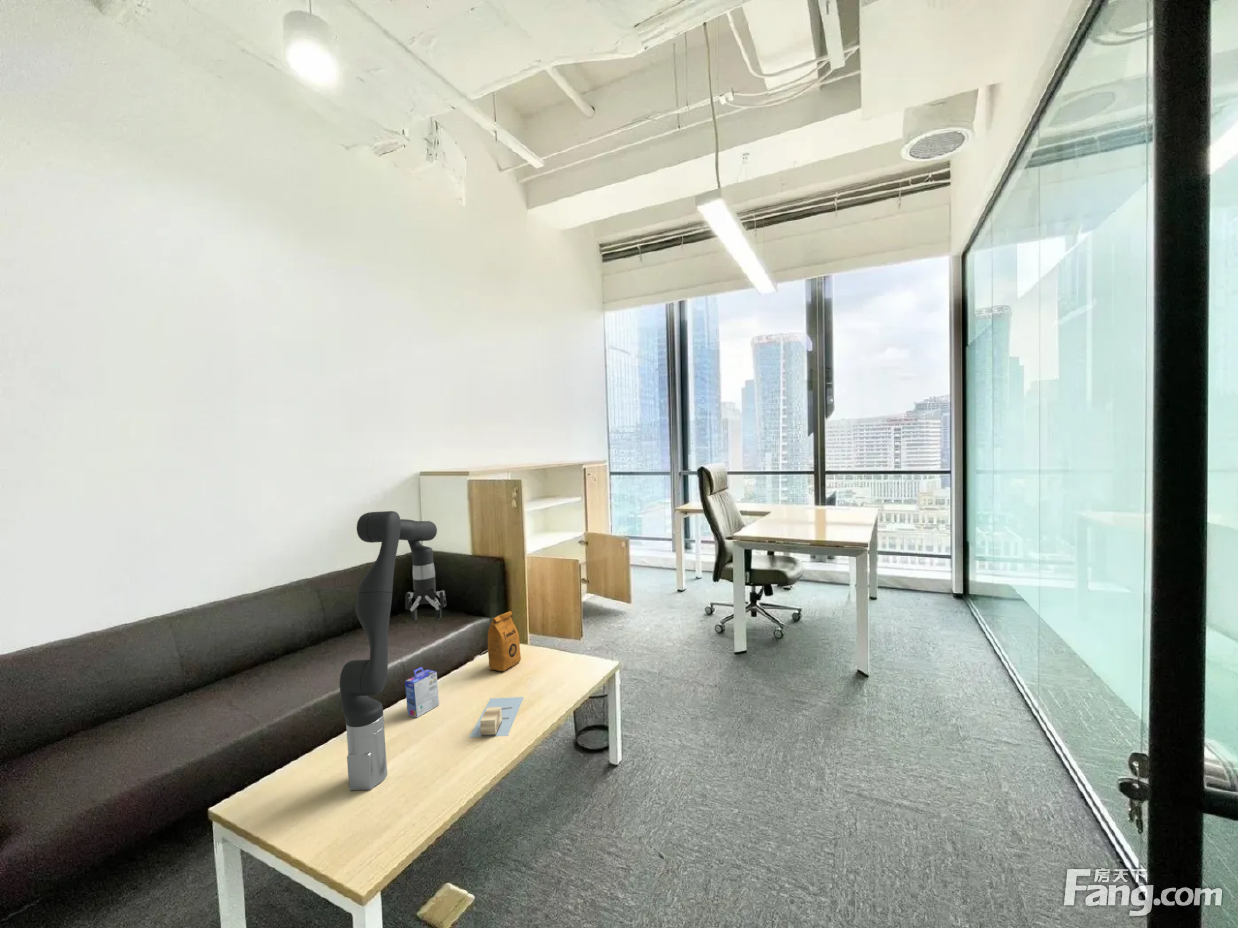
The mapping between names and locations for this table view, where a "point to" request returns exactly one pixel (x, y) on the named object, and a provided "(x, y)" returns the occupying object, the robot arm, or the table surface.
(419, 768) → the table surface
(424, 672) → the ink cartridge box
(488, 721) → the block
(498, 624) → the coffee package
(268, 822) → the table surface
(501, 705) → the board
